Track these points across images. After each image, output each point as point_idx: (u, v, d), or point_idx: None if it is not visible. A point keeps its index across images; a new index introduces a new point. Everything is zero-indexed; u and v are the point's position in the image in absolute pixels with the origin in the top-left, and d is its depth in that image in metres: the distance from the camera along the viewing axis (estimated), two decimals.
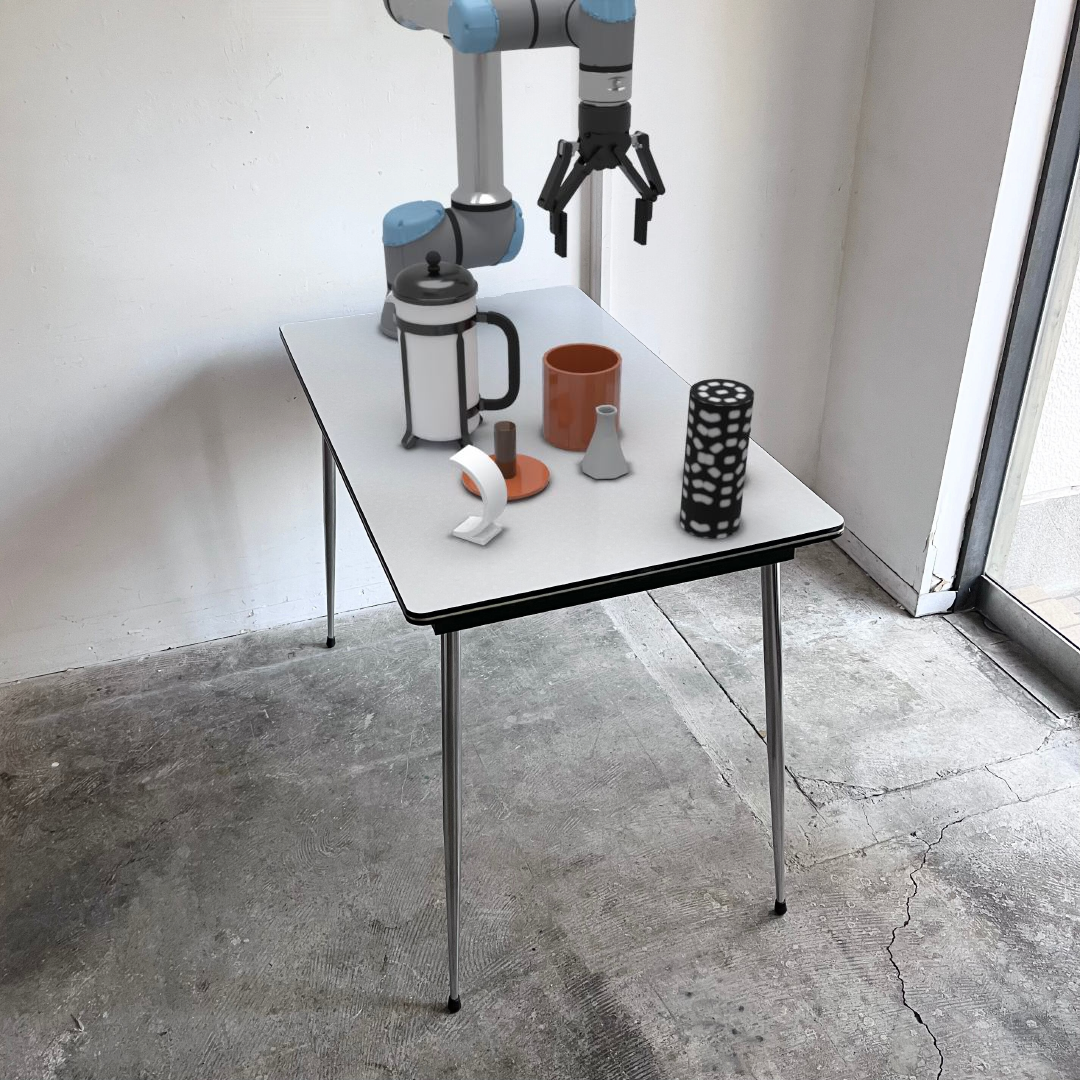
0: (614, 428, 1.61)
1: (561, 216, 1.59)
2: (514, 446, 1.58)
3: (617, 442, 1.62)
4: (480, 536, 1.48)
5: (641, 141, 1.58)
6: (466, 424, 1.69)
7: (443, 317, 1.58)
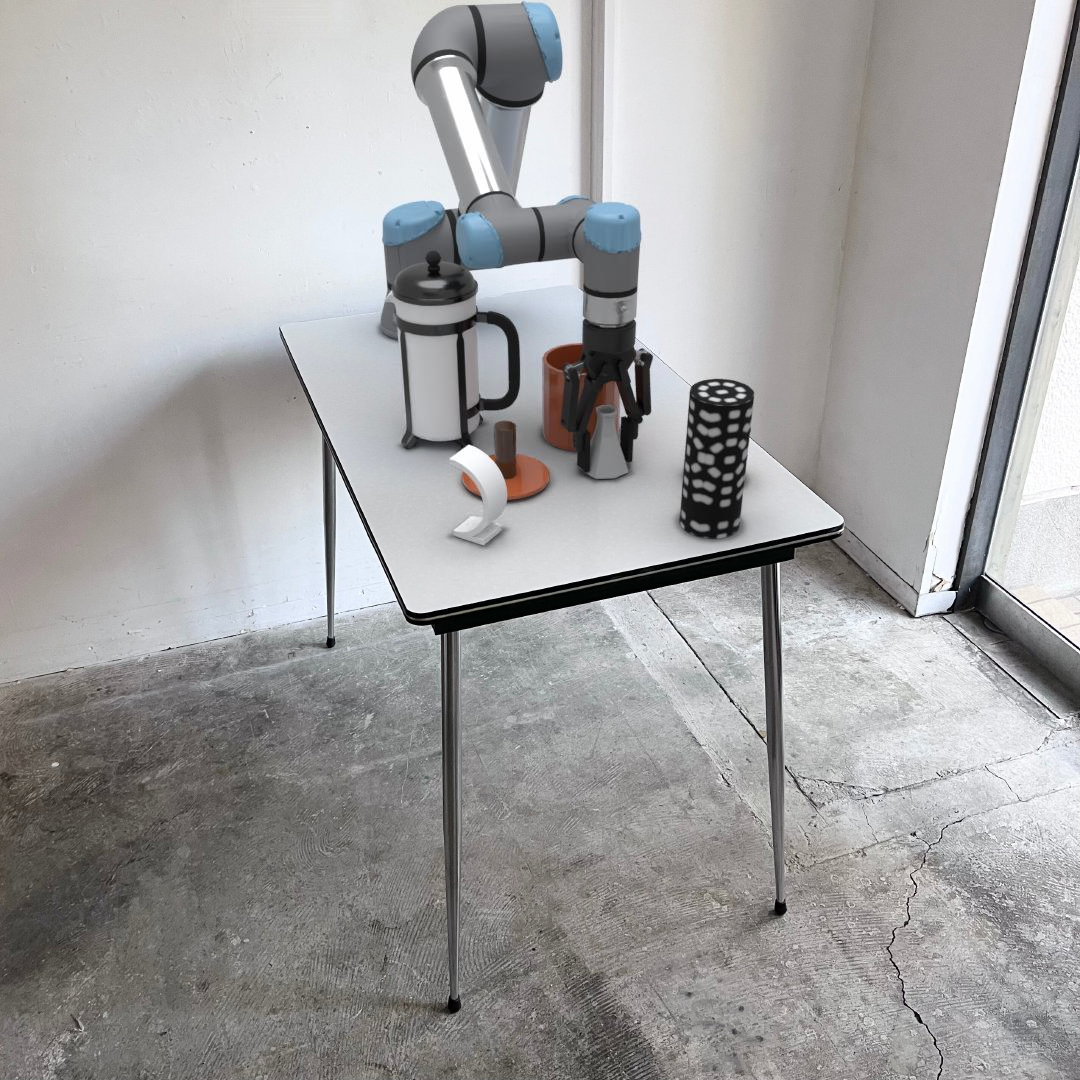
0: (614, 428, 1.61)
1: (584, 435, 1.59)
2: (514, 446, 1.58)
3: (617, 442, 1.62)
4: (480, 536, 1.48)
5: (645, 360, 1.57)
6: (466, 424, 1.69)
7: (443, 317, 1.58)
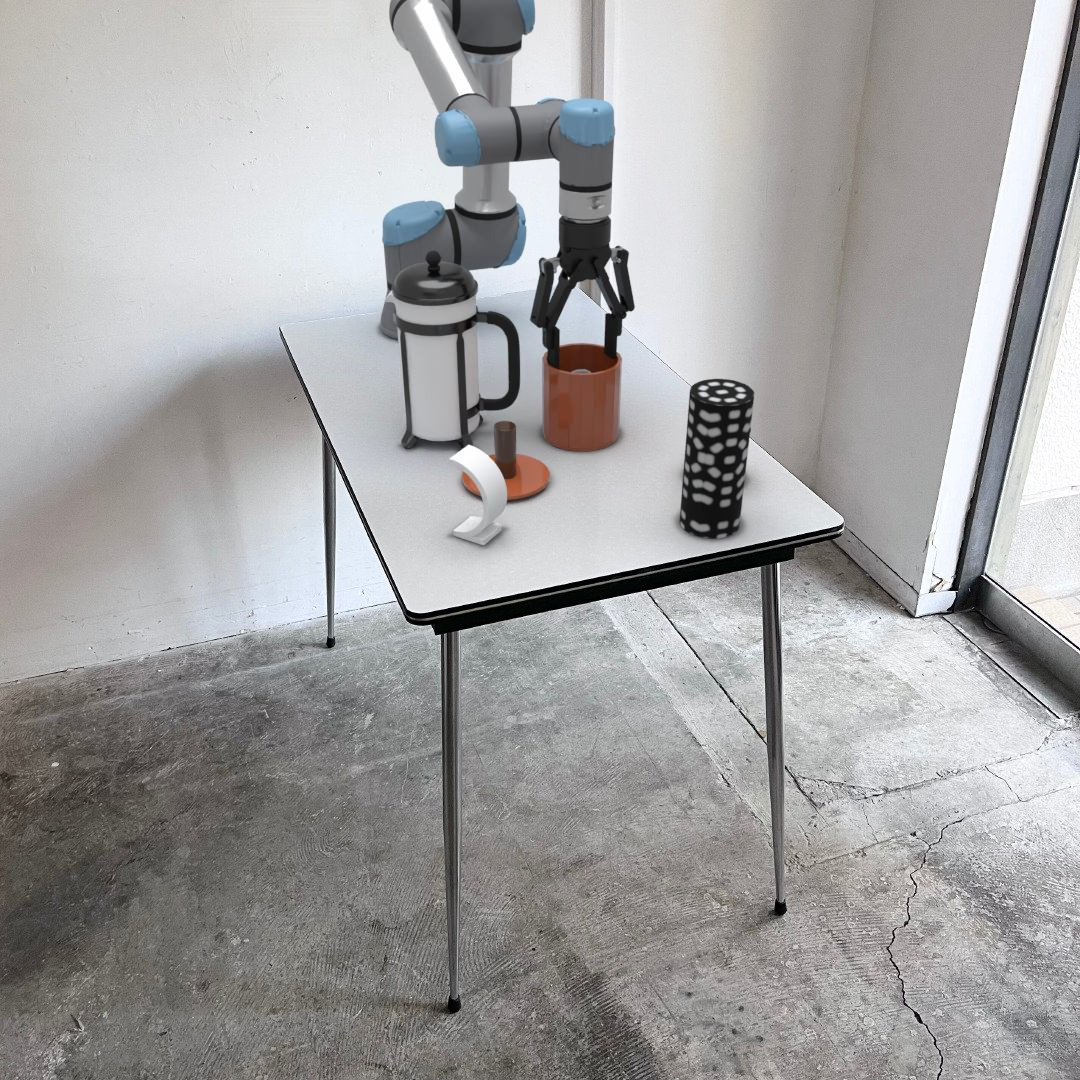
0: None
1: (554, 332, 1.62)
2: (514, 446, 1.58)
3: None
4: (480, 536, 1.48)
5: (621, 256, 1.61)
6: (466, 424, 1.69)
7: (443, 317, 1.58)
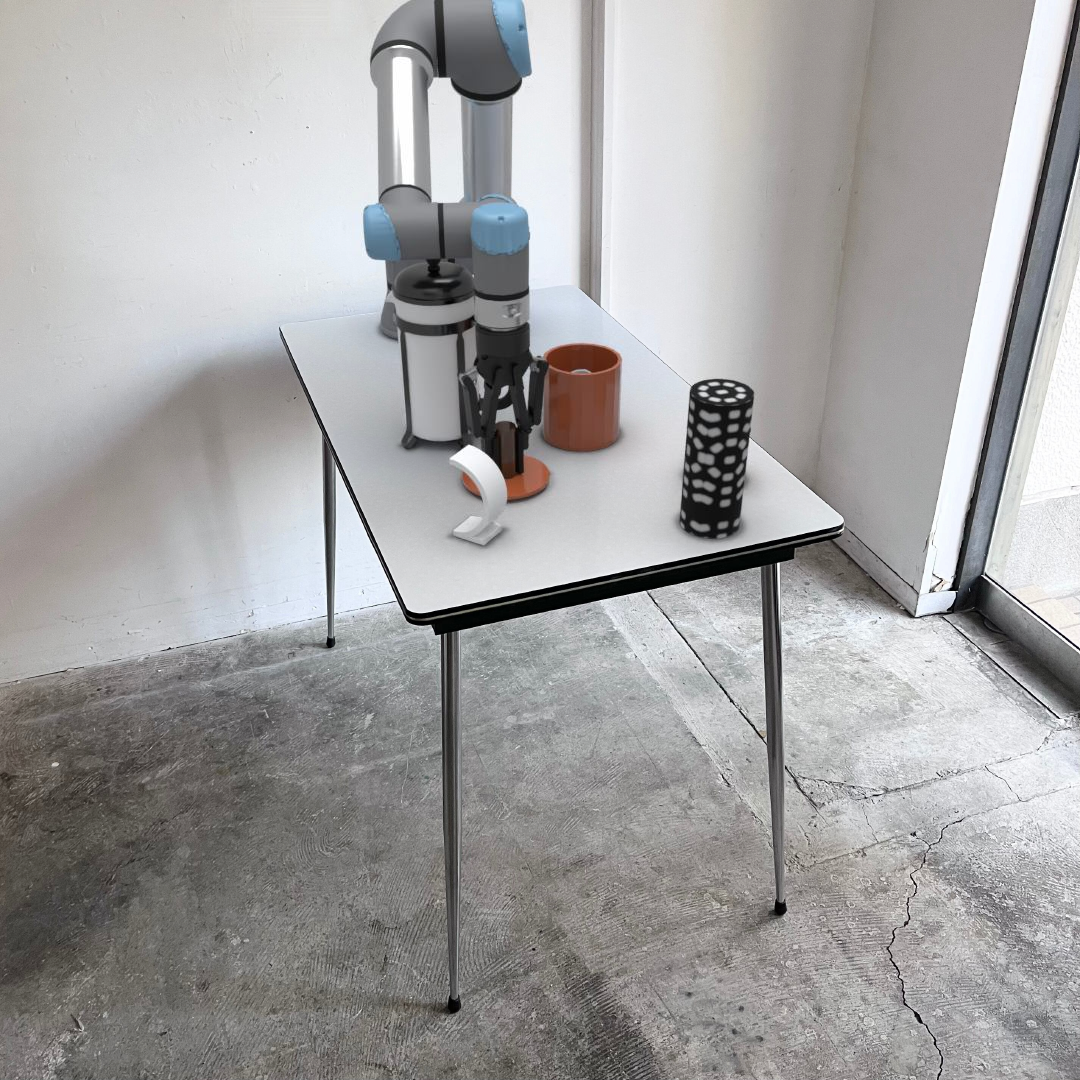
0: None
1: (492, 441, 1.56)
2: (514, 446, 1.58)
3: None
4: (480, 536, 1.48)
5: (540, 367, 1.54)
6: (466, 424, 1.69)
7: (443, 317, 1.58)
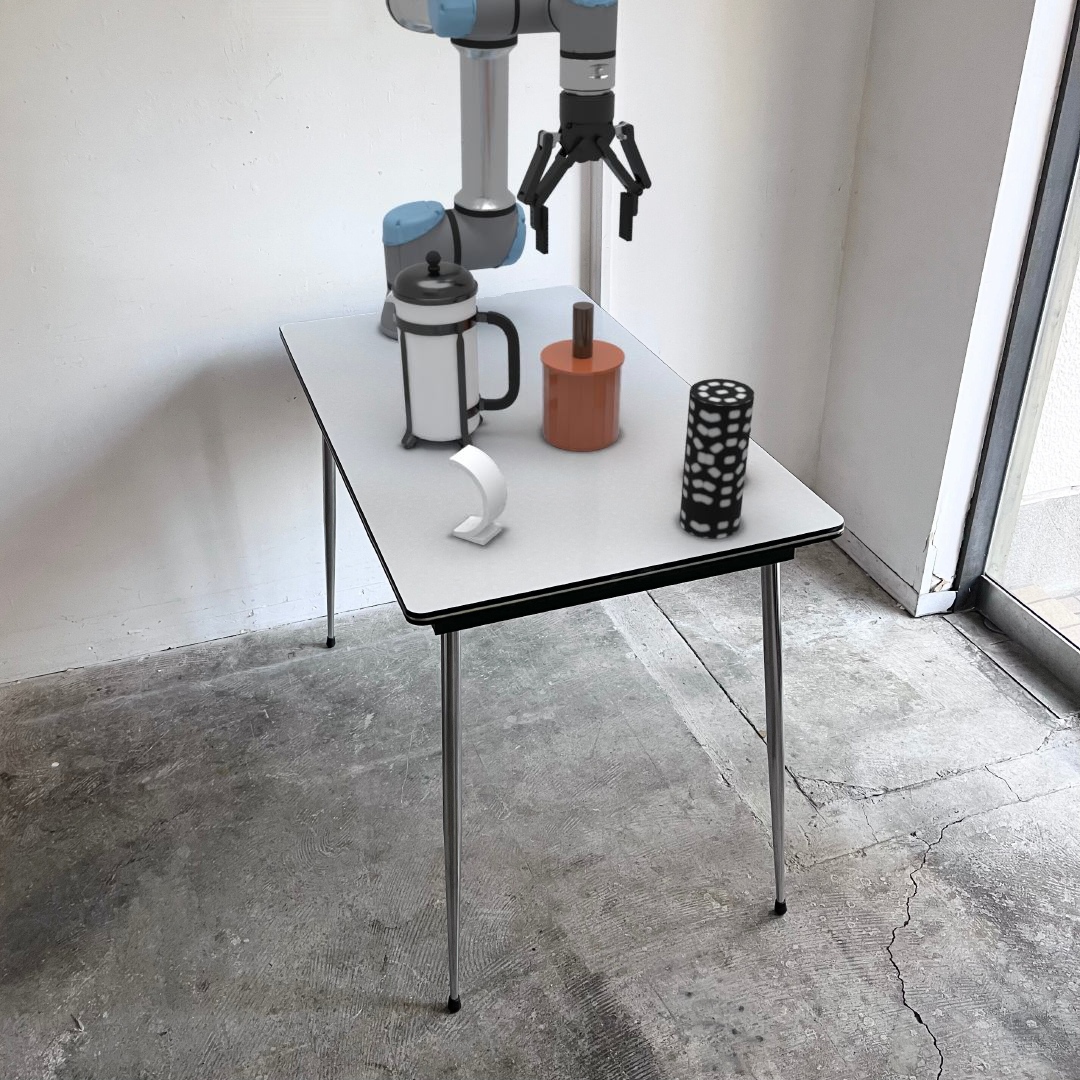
0: None
1: (542, 210, 1.52)
2: (592, 326, 1.64)
3: None
4: (480, 536, 1.48)
5: (626, 132, 1.51)
6: (466, 424, 1.69)
7: (443, 317, 1.58)
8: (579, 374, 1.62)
